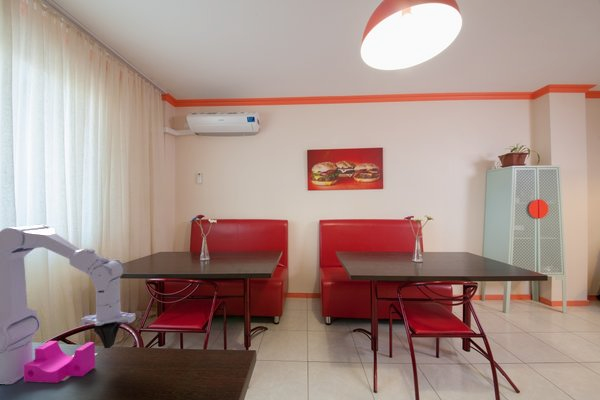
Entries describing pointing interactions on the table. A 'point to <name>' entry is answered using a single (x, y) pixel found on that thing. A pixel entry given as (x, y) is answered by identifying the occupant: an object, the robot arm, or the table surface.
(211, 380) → the table surface
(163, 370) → the table surface
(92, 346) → the toy block
